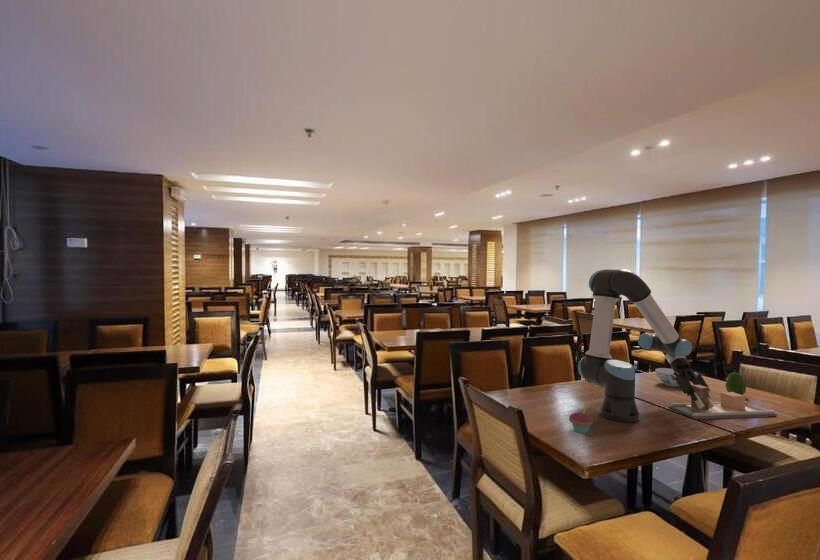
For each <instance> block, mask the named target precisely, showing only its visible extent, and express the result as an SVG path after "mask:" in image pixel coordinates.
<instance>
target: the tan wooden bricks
mask: <svg viewBox="0 0 820 560" xmlns="http://www.w3.org/2000/svg"><path fill="white" fill-rule="evenodd" d="M691 386H692V389H693V391H694V392H696V393H697V395H698V396H699V398H700V399H701V401H702V403H703V404H704V407H703V408H701V409H699V408H698V406H697V404H696V403H695V401H693V400H692V398H691V397H690V403H691V405H686V407H687V408H690V409H692V410H695V411H697V412H699V413H705V412H735V411H757V410H754V409H751V408H748V407H745V410H732V409H729V408H726V407H723V406H721V404H714V405H715V406H714V407H712V408H711V409H709V396H710V391H709V389H710V387H709V386H708V387H709V388H708V387H705V386H702V385H694V384H691ZM694 392H693V393H694Z"/></svg>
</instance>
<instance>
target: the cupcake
mask: <svg viewBox="0 0 820 560" xmlns="http://www.w3.org/2000/svg"><path fill="white" fill-rule="evenodd" d="M586 408H587V402H584V405H583V411H582V412H581V411H580V412H579V411H578V412H574V413H571V414H570V415H569V418H568V421H569V422H570V423H571V424H572V426H573V430H574V432H576V433H579V434H587V433H588V431H589V429H590V427H591V426H592V425H593V423H594V422H593V418H592V416H590V415H589V414H588V413H586V410H587V409H586Z"/></svg>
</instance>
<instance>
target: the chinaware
mask: <svg viewBox="0 0 820 560" xmlns="http://www.w3.org/2000/svg"><path fill="white" fill-rule="evenodd" d="M654 370H655V373H656V374H655V375H656V376H657V378H658V379H659V380H660V381H661V382H662V383H663V385H665V386H668V387H678V386H679V385H678V383H677V382H676V380H675V379H674V378H673V377H672V376H671V375H672V374H673V373H674V372H675V371H673V369H672V368H667V367H666V368H665V367H659V368H655V369H654Z"/></svg>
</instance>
